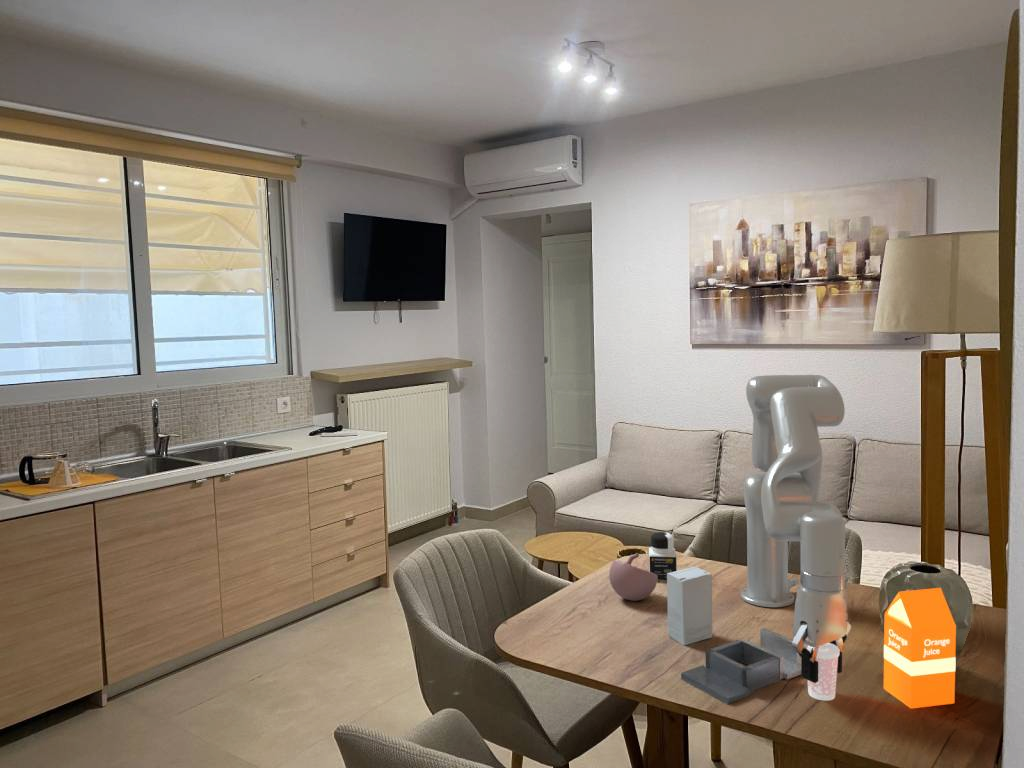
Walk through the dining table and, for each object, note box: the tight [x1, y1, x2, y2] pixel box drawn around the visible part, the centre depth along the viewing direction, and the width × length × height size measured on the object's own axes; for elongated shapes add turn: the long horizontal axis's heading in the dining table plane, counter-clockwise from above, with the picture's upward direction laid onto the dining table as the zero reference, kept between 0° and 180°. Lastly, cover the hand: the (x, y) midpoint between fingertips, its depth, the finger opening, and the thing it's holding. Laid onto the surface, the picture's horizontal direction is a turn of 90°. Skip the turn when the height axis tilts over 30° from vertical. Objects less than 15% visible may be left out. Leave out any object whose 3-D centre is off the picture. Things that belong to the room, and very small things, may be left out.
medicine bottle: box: [648, 531, 678, 582], centre depth 205 cm, size 7×7×12 cm
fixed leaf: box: [680, 639, 780, 705], centre depth 146 cm, size 15×12×4 cm
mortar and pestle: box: [608, 552, 658, 602], centre depth 189 cm, size 12×12×12 cm
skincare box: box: [666, 565, 713, 646], centre depth 165 cm, size 8×6×15 cm
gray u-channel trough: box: [737, 627, 801, 681], centre depth 151 cm, size 7×12×5 cm, turn 31°
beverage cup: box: [807, 640, 840, 702], centre depth 139 cm, size 6×6×14 cm
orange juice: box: [883, 587, 957, 709], centre depth 137 cm, size 8×9×20 cm
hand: (821, 674), depth 139 cm, fingers closed on beverage cup, 6 cm apart
